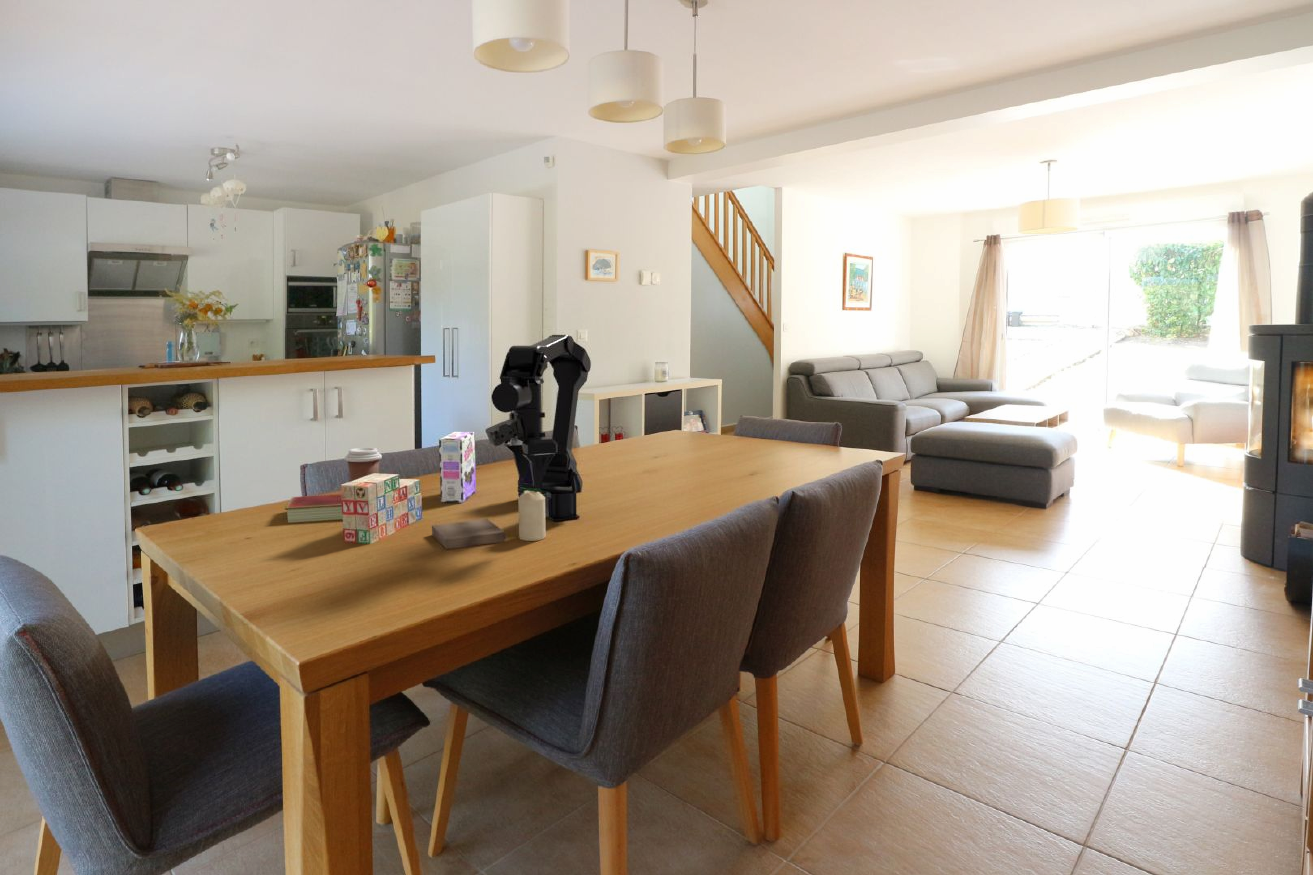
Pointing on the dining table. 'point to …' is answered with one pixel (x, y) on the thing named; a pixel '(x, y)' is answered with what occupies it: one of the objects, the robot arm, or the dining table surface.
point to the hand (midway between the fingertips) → (529, 481)
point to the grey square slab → (468, 533)
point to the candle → (531, 516)
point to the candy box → (457, 466)
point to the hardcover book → (314, 508)
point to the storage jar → (528, 484)
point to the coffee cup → (362, 462)
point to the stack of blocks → (379, 506)
